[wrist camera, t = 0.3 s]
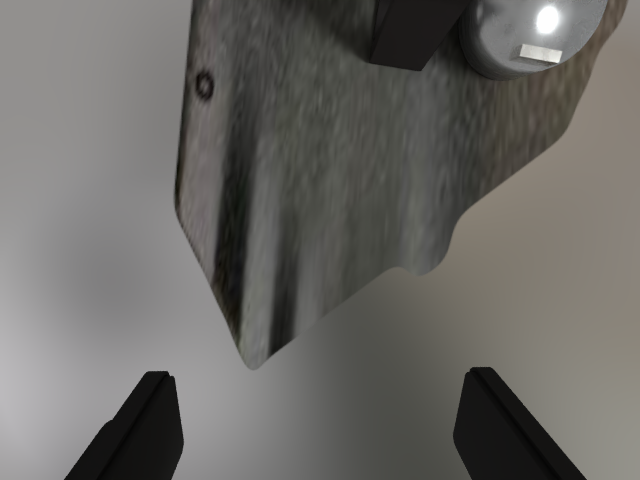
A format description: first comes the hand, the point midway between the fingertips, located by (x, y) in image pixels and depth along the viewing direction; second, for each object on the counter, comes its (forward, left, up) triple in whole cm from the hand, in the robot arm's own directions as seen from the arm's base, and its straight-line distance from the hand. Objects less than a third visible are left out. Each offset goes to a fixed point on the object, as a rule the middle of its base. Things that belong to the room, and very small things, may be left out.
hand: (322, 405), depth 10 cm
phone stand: (-22, +7, -30) cm, 38 cm away
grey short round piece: (-24, +19, -30) cm, 43 cm away
